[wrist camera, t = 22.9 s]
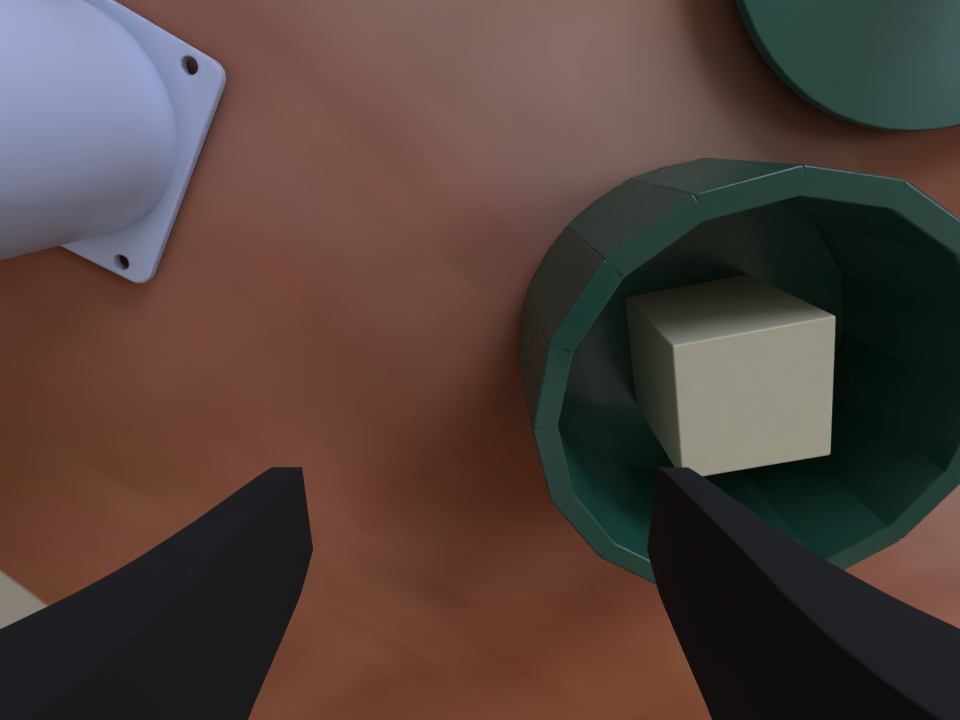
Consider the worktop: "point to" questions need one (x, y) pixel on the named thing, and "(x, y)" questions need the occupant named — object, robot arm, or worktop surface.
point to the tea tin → (795, 270)
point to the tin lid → (865, 57)
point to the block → (733, 373)
